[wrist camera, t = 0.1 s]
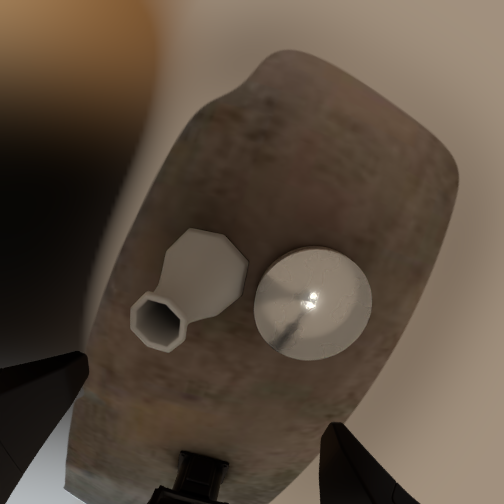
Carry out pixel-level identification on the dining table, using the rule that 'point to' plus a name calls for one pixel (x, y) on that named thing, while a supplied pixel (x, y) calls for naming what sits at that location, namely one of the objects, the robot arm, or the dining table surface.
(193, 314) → the flask
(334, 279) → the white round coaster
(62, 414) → the robot arm
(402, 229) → the dining table surface
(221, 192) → the dining table surface
